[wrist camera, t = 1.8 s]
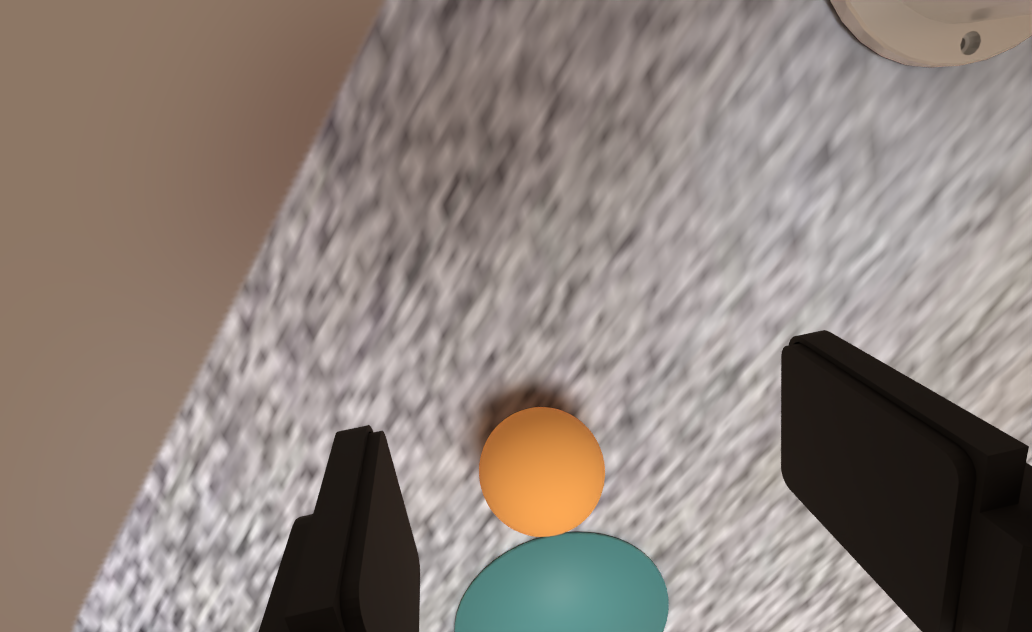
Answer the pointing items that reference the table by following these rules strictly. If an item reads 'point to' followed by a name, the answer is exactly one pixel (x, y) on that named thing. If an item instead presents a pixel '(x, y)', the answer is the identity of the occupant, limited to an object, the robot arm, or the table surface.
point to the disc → (567, 589)
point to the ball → (541, 471)
